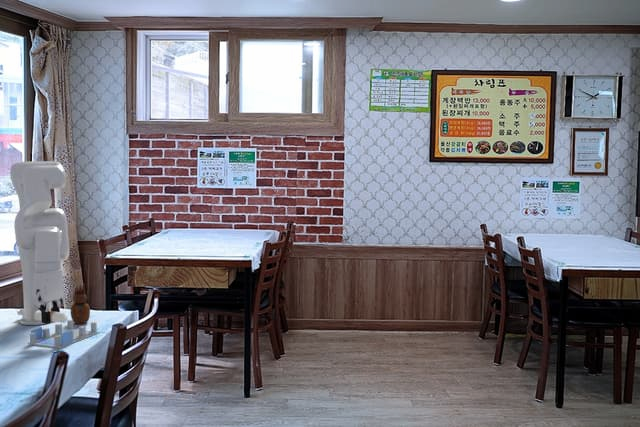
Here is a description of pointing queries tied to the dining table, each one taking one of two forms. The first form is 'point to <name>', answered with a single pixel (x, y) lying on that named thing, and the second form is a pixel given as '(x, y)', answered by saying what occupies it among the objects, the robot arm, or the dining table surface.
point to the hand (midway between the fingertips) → (50, 321)
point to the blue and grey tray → (61, 335)
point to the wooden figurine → (80, 307)
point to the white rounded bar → (53, 316)
